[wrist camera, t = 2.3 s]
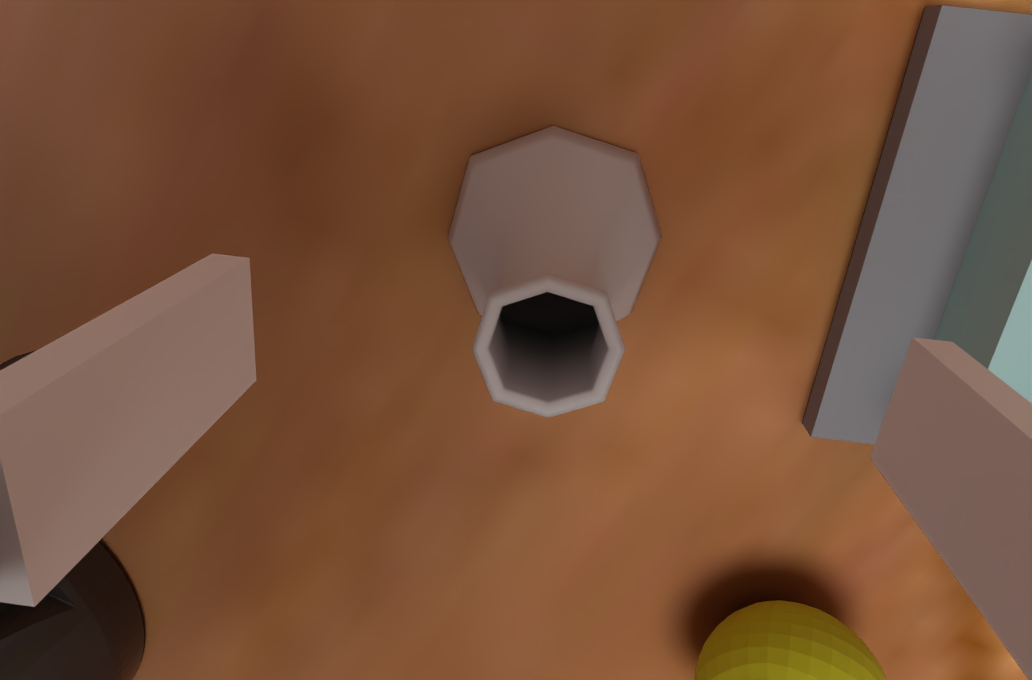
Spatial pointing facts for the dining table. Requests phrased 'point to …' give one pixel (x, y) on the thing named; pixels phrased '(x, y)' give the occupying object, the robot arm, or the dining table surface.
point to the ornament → (785, 646)
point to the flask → (552, 264)
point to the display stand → (940, 224)
